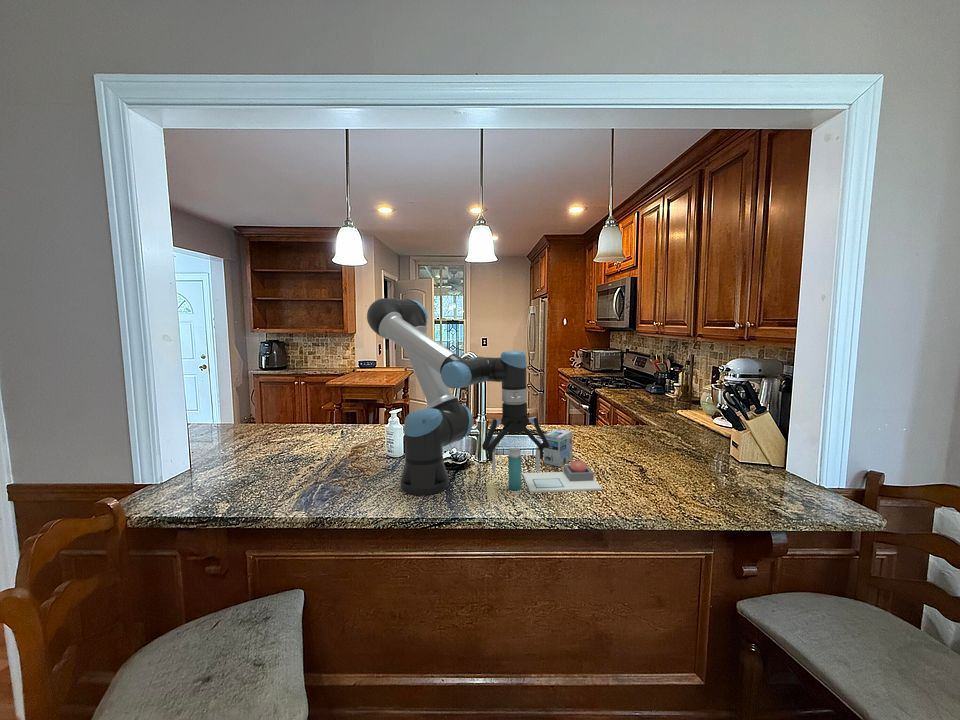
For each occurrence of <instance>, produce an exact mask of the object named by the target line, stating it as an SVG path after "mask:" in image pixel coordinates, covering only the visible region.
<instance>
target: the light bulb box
mask: <svg viewBox="0 0 960 720" xmlns="http://www.w3.org/2000/svg"><path fill="white" fill-rule="evenodd" d="M543 434H544V436H545V438H546V440H547V442H548V443H549V447H545V448H544V450H543V464H546V465H550V466H555V467H559V468H561V467H562V466H564V465H565V464H567V463H568V462H571V461H572V460H573V430H568V429H562V428H561V429H560V428H555V429H553V430H551V431H549V432H547V433H543Z"/></svg>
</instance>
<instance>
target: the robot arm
mask: <svg viewBox="0 0 960 720" xmlns="http://www.w3.org/2000/svg"><path fill="white" fill-rule="evenodd" d="M368 307H369V308H368V309H367V313H366V320H367V324H368V326H369V328H371V330H372V331H373V332H374V333H375V334H377V335H378V336H379V337H381V338H382V339H385V340H391V341H392V342H393V343H395V344H397V345H398V346H400V348H402V349H404V350H405V352H406V355H407V357H408V360H409V362H410V364H411V367H412V369H413V372H414V374H415V376H416V379H417V382H418V383H419V386H420V388H421V391H422V393H423V395H424V398H425V401H426V402H427V408H423V409H416V410H414V411H411V412H410V413H408V414H407V415H406V416H405V418H404V423H403V424H404V426H403V435H404V436H403V438H404V455H405V456H404V457H405V461H404V467H403V470H402V472H401V473H402V474H401V477H400V480H399V481H400V482H399V483H400V490H401V489H402V490H403V491H402V490H401V491H402V492H404V493H405V492H406V494H408V495H412V496H414V495H415V496H429V495H434V494H438V493H441V492H443V491H444V490H446V489H447V488H448V487H449V486H450V476H449V474H448V471H447V468H446V465H445V461H444V458H443V457H444V456H443V452H444V451H443V450H444V449H443V447H446V446H448V445H451V444H453V443H456V442H460V441H462V440H463V439H464V438H465V437H467V436H469V434H470V433H471V431H472V428H473V425H474V417H473V414H472V412H471V410H470V408H468V406H465V405H464V404H461V403H460V400H459V397H458V396H455V395H453V394H452V393H451V391H450V389H462V388H465V387H469V386H473V385H477V384H481V383H484V382H491V383H493V382H495V383H501V401H502V405H501V408H502V409H501V410H502V413H501V414H502V417H501V418H496V417H493V418H492V420H491V426H490V428H489V430H488V432H487V434H486V436H485V438H484V441H483V443H482V446H481V447H482V450H484V451H487V453H488V454H487V455H488V461H489V462H491V467H492V473H493V474H496V473H497V472H496V450H495V448H496V447H497V446H498V444H499V443H500V442H501V441H502V439H503V438H504V437H505V436H507V435H508V433H510V434H515V433H517V434H521V433H522V432H524V434H525V435H526V436H527V437H528V438H529V439H530V440H532V442H533V443H534V444H535V445H536V447H535V469H536V471H537V472H540V471H541V460H544V448H545V447H549V443H548V442H547V440H546V438H545V436H544V434H545V433H543V430H542V429H541V426H540V424H539V419H538V417H537V416H535V415H534V416H532V417H528V403H527V401H528V395H527V394H528V393H527V392H528V389H527V367H528V365H527V357H526V353H525V352H524V351H523V350H507V351H505V350H504V351H502V352H501V354H500V357H489V356H488V357H487V356H486V357H485V356H475V357H474V356H473V357H470V358H469V359H464V358H463V357H461V356H459V355H458V354H456V353H454V351H451V350H450V349H448V348H447V347H446V346H444V345H442V344H441V343H440V342H438V341H436V340H435V339H434V338H432V337H430V336H429V335H427V334H426V332H427V330H428V328H427V325H428V318H429V317H428V312H427V310H426V308H425V306H424V305H423V304H422V303H421V302H420V301H417V300H414V299H410V298H404V299H403V298H402V299H401V298H387V297H386V298H385V297H384V298H383V297H382V298H380V299H376V300H375V301H374V302H372V303H371V304H370V306H368ZM529 423H531V425H533V427H534V428H535V430H536V432H537V434H538V435H539V438H540V439H541V441H542V443H541V442H540V441H539V439H537V438H536V436H535V435H534V434H533V433H532V432H531V431H530V430H529V429H528V428H527V426H528V424H529ZM500 424H502V426H503V427H502V428H501V430H500V431H499V433H498V434H497V435H496V436H495V438H494V439H493V440H492V438H493V436H494V433H495V431H496V429H497V427H499V426H500ZM491 440H492V441H491ZM490 442H491V443H490Z"/></svg>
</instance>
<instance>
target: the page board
mask: <svg viewBox="0 0 960 720" xmlns="http://www.w3.org/2000/svg"><path fill="white" fill-rule="evenodd" d="M522 476H523V479H524V481H525V484H526V486H527V488H528V491H529V493H533V494H534V493H556V492H557V493H561V492H562V493H563V492H586V491H588V492H589V491H591V492H592V491H603V487H602V486H601V485H600V484H599V482H597V480H596V479H595V478H594V471H593V470H591V469H590V467H589V466H588V465H587V464H586V472H577V473H572V472H571V471H570V464H568V465H567V464H566V465H565V464H564V465H563V471H556V472H555V471H550V472H549V471H548V472H547V471H546V472H545V471H544V472H523V473H522Z"/></svg>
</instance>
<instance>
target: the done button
mask: <svg viewBox="0 0 960 720" xmlns="http://www.w3.org/2000/svg"><path fill="white" fill-rule="evenodd" d="M569 463H570V464H569V465H570V471H571V472H572V473H577V472H586V465H587V462H585V461H582V460H573V461H572V460H571V461H569Z"/></svg>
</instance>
